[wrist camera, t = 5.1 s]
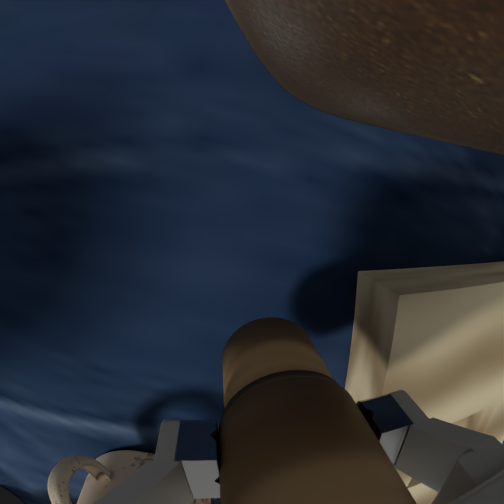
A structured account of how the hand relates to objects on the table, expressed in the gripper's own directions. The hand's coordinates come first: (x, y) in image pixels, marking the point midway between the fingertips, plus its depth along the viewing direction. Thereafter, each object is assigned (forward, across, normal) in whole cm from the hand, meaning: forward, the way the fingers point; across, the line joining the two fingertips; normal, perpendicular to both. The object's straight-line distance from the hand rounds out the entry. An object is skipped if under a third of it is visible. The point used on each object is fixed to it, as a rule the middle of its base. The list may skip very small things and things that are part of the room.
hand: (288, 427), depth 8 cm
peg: (+4, 0, 0) cm, 4 cm away
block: (+7, -12, +9) cm, 16 cm away
